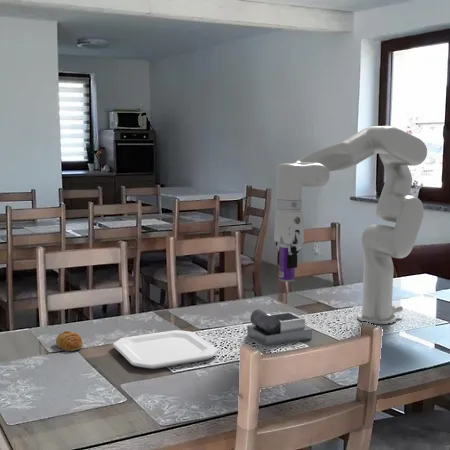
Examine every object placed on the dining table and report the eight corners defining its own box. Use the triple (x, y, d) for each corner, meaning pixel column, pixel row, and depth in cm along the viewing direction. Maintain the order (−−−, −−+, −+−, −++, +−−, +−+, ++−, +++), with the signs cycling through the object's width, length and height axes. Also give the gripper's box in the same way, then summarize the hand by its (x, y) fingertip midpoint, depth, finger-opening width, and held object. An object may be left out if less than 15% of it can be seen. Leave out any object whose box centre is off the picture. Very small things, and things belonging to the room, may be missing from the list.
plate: (137, 376, 154) (137, 367, 154) (108, 346, 176) (108, 339, 176) (224, 360, 166) (224, 352, 165) (187, 335, 187) (187, 328, 187)
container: (293, 282, 181) (295, 231, 179) (277, 281, 182) (279, 231, 180) (295, 278, 186) (296, 229, 184) (279, 277, 187) (281, 228, 185)
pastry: (88, 349, 173) (88, 336, 173) (65, 354, 169) (65, 341, 169) (75, 341, 181) (75, 328, 180) (53, 345, 177) (52, 332, 176)
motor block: (291, 328, 193) (292, 303, 192) (311, 338, 184) (312, 312, 183) (247, 335, 186) (247, 309, 185) (265, 346, 177) (266, 319, 176)
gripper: (315, 207, 175) (313, 270, 178) (284, 202, 190) (282, 260, 193) (293, 208, 172) (291, 272, 174) (263, 203, 187) (262, 262, 189)
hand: (287, 265), depth 183 cm, fingers closed on container, 4 cm apart
